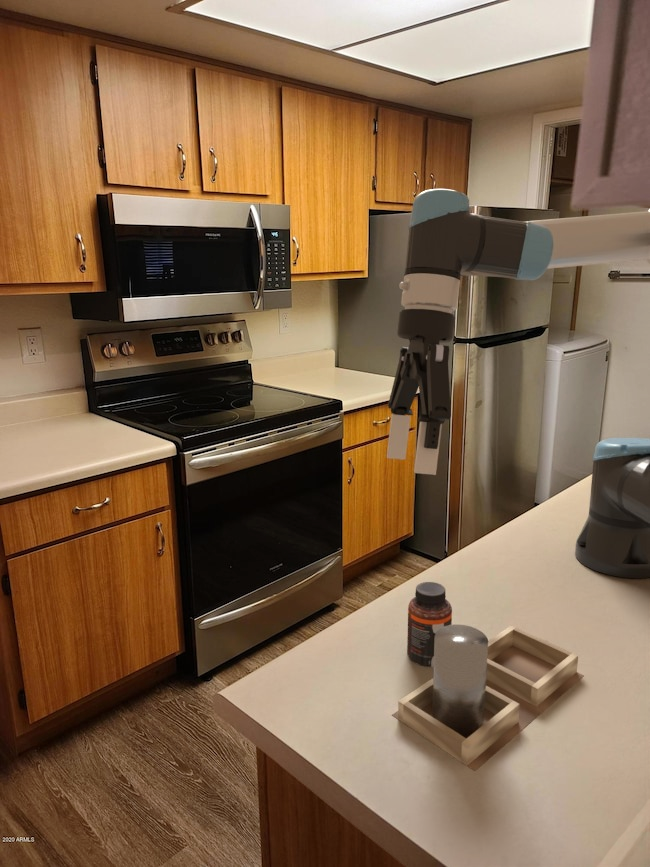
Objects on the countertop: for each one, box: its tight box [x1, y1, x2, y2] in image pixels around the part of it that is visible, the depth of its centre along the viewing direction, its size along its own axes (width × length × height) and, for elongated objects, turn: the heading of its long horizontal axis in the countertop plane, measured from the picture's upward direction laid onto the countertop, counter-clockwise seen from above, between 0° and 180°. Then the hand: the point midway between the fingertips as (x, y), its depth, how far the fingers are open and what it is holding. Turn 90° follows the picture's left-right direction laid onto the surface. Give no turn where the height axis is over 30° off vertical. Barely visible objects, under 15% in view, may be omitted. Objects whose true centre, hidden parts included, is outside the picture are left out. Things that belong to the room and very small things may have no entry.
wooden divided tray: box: [391, 625, 585, 772], centre depth 80 cm, size 24×12×4 cm, turn 132°
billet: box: [432, 624, 489, 738], centre depth 74 cm, size 6×6×11 cm
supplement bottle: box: [406, 581, 453, 668], centre depth 88 cm, size 6×6×11 cm
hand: (409, 465), depth 88 cm, fingers open, 13 cm apart
